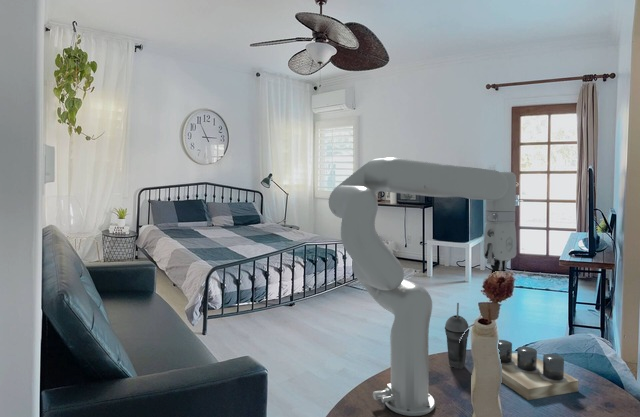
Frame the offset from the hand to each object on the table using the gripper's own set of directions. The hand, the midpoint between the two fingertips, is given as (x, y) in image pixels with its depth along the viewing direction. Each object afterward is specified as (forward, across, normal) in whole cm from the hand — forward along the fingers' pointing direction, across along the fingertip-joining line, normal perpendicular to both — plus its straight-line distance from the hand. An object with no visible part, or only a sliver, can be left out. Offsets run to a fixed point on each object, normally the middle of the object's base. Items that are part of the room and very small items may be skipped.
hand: (498, 283), depth 119 cm
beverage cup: (+29, +3, +14) cm, 32 cm away
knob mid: (+25, +10, -4) cm, 27 cm away
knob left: (+26, +10, +3) cm, 27 cm away
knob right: (+25, +10, -11) cm, 29 cm away
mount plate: (+28, +10, -4) cm, 30 cm away
